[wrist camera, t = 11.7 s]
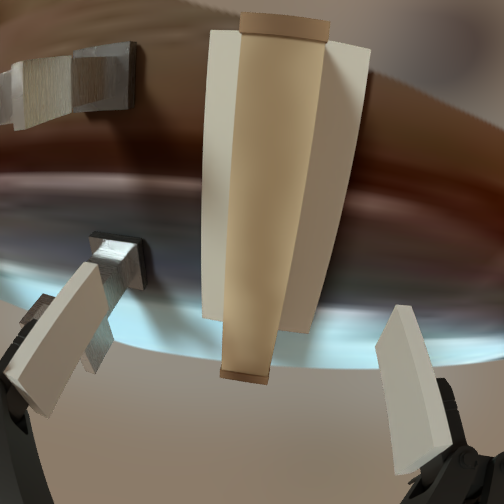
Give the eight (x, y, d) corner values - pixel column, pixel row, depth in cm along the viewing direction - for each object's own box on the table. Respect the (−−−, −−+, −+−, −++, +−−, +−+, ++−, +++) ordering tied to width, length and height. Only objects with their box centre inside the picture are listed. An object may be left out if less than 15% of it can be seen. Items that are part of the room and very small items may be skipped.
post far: (99, 274, 29) (38, 358, 19) (90, 230, 26) (14, 312, 16) (152, 284, 28) (99, 381, 19) (146, 238, 26) (77, 335, 16)
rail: (232, 324, 29) (219, 377, 24) (257, 30, 16) (240, 12, 10) (273, 330, 29) (267, 385, 23) (319, 37, 15) (330, 21, 10)
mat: (203, 313, 29) (202, 318, 29) (213, 31, 16) (210, 30, 16) (308, 329, 29) (308, 333, 28) (368, 50, 16) (370, 49, 15)
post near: (76, 110, 20) (-36, 157, 10) (76, 51, 17) (-43, 69, 8) (140, 107, 20) (27, 151, 10) (142, 41, 17) (23, 38, 7)
